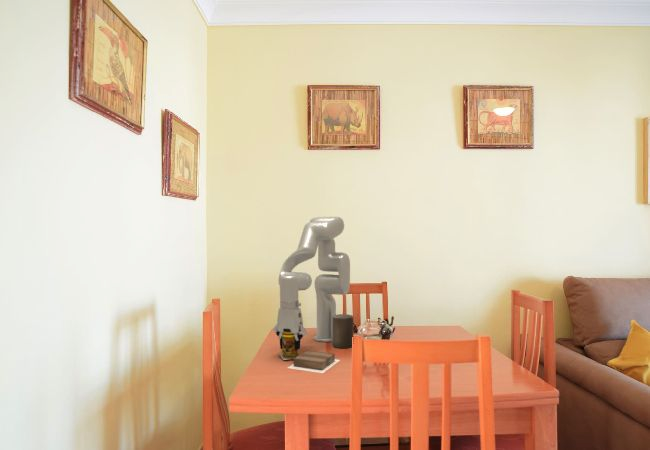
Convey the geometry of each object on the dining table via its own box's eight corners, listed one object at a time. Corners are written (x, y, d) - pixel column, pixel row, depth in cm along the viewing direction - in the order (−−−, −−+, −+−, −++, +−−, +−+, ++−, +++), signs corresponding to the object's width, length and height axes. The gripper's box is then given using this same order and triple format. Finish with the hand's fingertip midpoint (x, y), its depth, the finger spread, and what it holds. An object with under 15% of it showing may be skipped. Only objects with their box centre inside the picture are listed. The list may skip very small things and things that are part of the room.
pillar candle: (354, 348, 183) (353, 315, 183) (332, 348, 183) (332, 315, 184) (353, 343, 193) (352, 311, 193) (332, 343, 193) (332, 311, 193)
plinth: (307, 357, 167) (307, 350, 168) (334, 361, 162) (334, 353, 163) (293, 366, 157) (293, 358, 157) (321, 370, 152) (321, 362, 152)
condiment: (283, 360, 163) (283, 330, 163) (278, 354, 171) (278, 325, 171) (301, 358, 165) (300, 328, 165) (295, 351, 173) (294, 323, 173)
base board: (307, 357, 170) (307, 355, 170) (340, 361, 164) (340, 359, 164) (287, 369, 155) (287, 367, 155) (322, 375, 149) (322, 373, 149)
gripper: (312, 304, 167) (312, 348, 167) (276, 302, 174) (276, 344, 174) (303, 308, 160) (304, 353, 160) (266, 305, 167) (267, 349, 167)
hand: (290, 348), depth 167 cm, fingers closed on condiment, 6 cm apart
